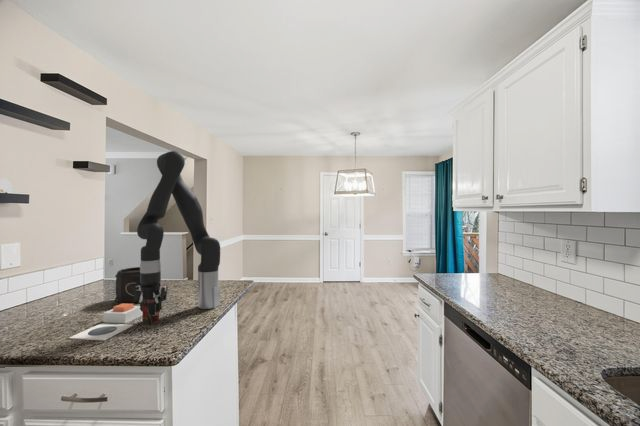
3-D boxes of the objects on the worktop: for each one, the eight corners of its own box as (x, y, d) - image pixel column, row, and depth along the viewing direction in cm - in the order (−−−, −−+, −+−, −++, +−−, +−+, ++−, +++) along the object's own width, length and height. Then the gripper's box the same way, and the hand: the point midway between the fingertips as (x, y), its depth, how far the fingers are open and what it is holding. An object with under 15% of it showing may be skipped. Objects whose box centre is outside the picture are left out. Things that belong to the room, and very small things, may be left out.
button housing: (142, 315, 134) (142, 306, 134) (125, 323, 124) (125, 313, 124) (121, 314, 135) (121, 305, 135) (103, 322, 125) (103, 312, 125)
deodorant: (146, 319, 129) (146, 284, 129) (161, 318, 129) (161, 283, 129) (139, 324, 123) (139, 287, 123) (155, 324, 123) (154, 287, 123)
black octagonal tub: (163, 297, 161) (163, 268, 161) (127, 306, 146) (126, 274, 146) (145, 293, 171) (145, 265, 171) (109, 301, 156) (109, 270, 156)
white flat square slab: (133, 325, 122) (133, 324, 122) (104, 340, 108) (104, 339, 108) (101, 324, 123) (101, 323, 123) (69, 338, 109) (69, 337, 109)
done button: (133, 310, 132) (133, 303, 132) (124, 314, 127) (124, 307, 127) (122, 310, 133) (122, 303, 133) (113, 314, 128) (113, 307, 127)
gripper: (172, 269, 129) (172, 309, 129) (140, 268, 131) (141, 307, 131) (160, 273, 121) (161, 315, 122) (127, 272, 123) (128, 313, 123)
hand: (150, 311), depth 126 cm, fingers closed on deodorant, 6 cm apart
